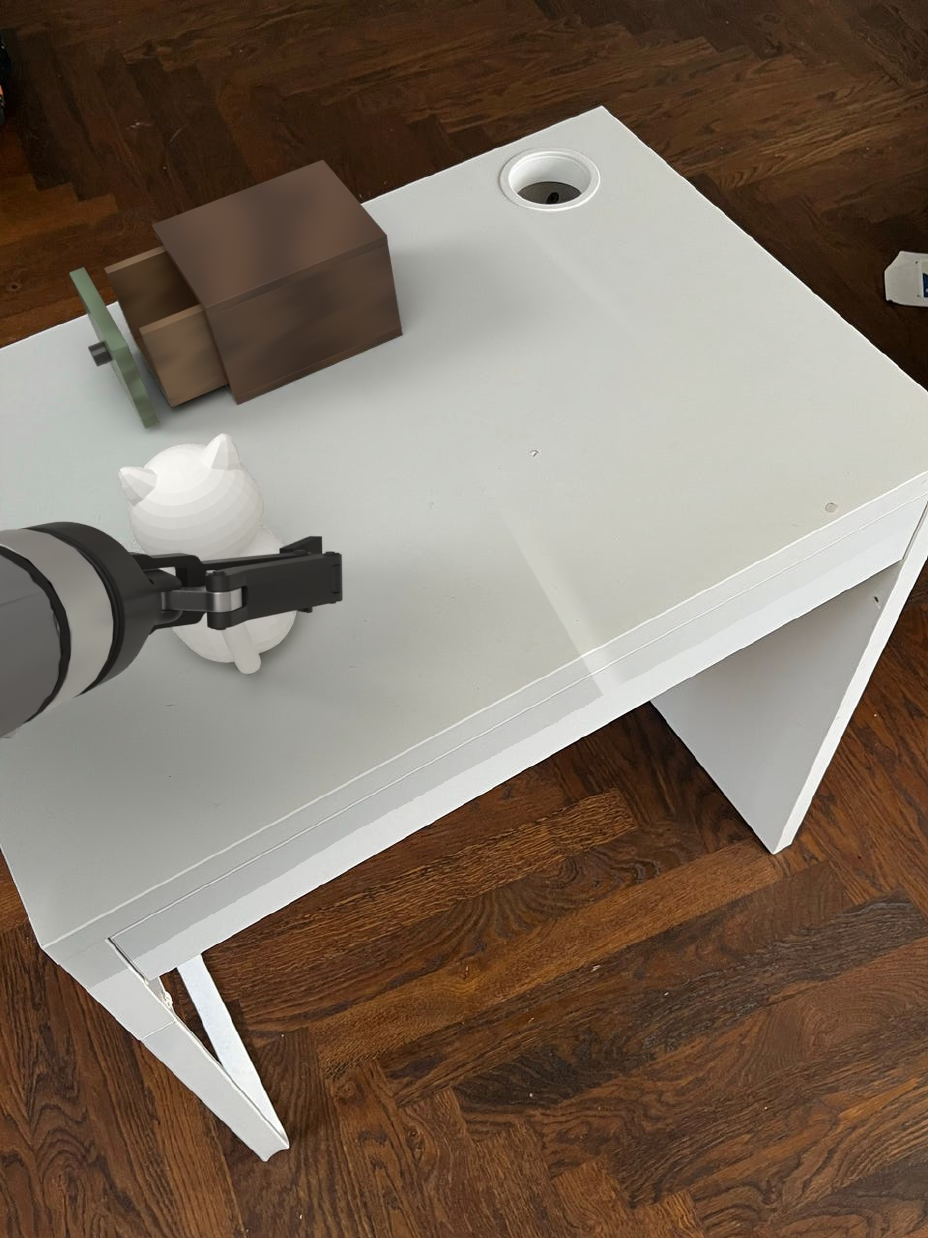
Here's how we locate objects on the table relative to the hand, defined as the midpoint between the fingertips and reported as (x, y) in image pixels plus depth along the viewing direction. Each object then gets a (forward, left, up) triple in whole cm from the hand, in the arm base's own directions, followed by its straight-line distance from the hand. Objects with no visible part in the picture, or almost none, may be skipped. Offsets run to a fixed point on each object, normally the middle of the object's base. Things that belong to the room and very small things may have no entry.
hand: (205, 557), depth 69 cm
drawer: (-9, +27, -9) cm, 29 cm away
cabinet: (-2, +31, -10) cm, 33 cm away
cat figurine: (0, +1, -10) cm, 10 cm away
